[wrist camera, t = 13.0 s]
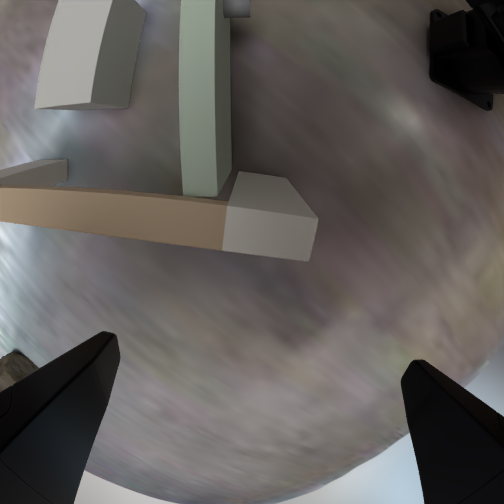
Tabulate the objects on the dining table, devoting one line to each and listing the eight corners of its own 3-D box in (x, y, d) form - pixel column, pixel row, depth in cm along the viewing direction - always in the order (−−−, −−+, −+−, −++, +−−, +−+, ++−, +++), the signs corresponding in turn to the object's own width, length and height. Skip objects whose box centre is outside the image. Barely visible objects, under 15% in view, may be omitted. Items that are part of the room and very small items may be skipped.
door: (252, 169, 17) (252, 195, 10) (211, 170, 17) (183, 197, 10) (250, 14, 13) (249, -54, 6) (210, 16, 13) (185, -49, 6)
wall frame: (286, 177, 17) (318, 219, 9) (282, 201, 18) (309, 261, 10) (39, 159, 16) (-50, 187, 8) (39, 179, 17) (-48, 214, 9)
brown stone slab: (-14, 364, 27) (-27, 380, 23) (0, 324, 23) (-18, 344, 19) (64, 433, 32) (55, 452, 28) (101, 414, 28) (91, 440, 24)
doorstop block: (147, 13, 13) (118, -17, 8) (128, 108, 16) (90, 102, 11) (96, 20, 13) (59, -2, 8) (78, 110, 15) (34, 109, 11)
